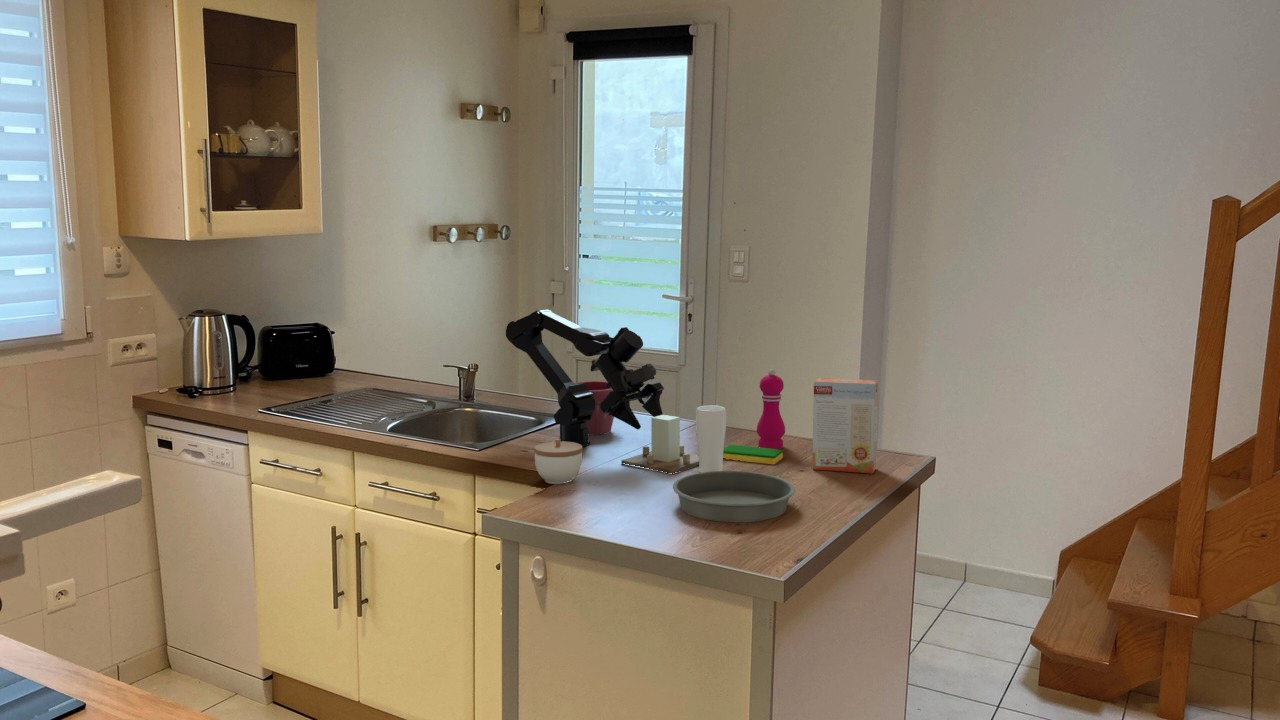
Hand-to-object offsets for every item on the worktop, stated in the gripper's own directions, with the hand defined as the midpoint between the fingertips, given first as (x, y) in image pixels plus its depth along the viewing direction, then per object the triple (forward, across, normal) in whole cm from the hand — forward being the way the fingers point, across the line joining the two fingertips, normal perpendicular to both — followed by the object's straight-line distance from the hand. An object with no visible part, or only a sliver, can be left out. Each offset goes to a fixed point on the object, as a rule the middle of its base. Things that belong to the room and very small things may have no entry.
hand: (651, 425), depth 238 cm
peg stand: (+9, 0, +3) cm, 10 cm away
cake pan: (+32, -20, -20) cm, 42 cm away
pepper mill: (+17, +29, -5) cm, 34 cm away
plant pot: (-16, +16, +29) cm, 37 cm away
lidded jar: (+3, -27, +10) cm, 29 cm away
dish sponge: (+19, +16, -6) cm, 26 cm away
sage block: (+8, 0, +2) cm, 9 cm away
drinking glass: (+19, -1, -7) cm, 20 cm away
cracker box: (+34, +20, -23) cm, 46 cm away
